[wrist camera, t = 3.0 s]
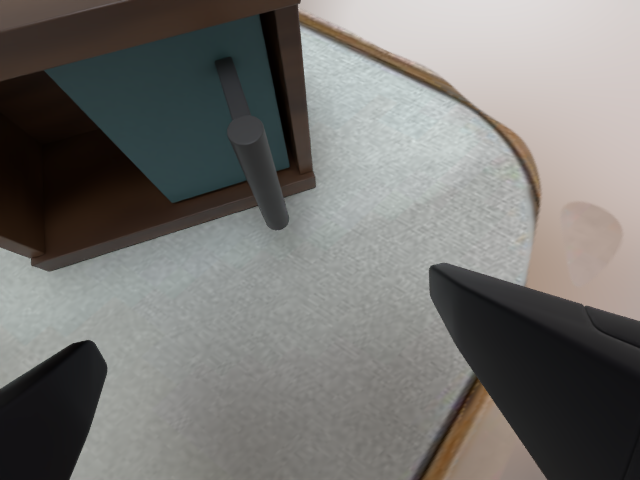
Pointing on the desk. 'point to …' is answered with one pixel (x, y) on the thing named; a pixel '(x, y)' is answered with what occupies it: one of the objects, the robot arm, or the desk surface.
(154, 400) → the desk surface
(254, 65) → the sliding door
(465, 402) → the desk surface
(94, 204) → the cabinet
